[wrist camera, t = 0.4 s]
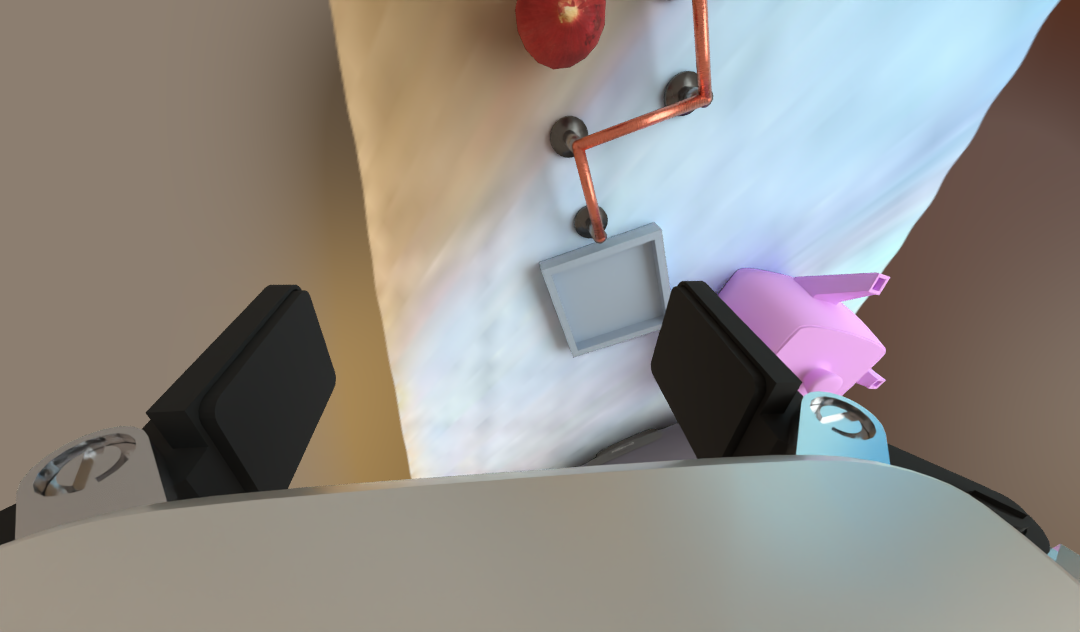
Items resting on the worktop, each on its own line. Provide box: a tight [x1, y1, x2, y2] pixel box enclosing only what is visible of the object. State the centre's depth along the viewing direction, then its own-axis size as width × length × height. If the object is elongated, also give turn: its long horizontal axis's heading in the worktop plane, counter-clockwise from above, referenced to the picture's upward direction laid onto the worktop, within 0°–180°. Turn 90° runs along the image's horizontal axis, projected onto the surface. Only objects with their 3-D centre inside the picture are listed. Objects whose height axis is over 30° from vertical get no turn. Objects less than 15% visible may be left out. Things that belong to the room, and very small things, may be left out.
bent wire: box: [550, 0, 713, 244], centre depth 30 cm, size 13×19×4 cm
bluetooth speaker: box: [579, 423, 697, 467], centre depth 55 cm, size 23×9×10 cm, turn 121°
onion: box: [515, 0, 606, 69], centre depth 25 cm, size 6×6×8 cm
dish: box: [539, 222, 671, 358], centre depth 41 cm, size 12×12×2 cm
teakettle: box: [718, 268, 890, 397], centre depth 42 cm, size 17×17×12 cm
